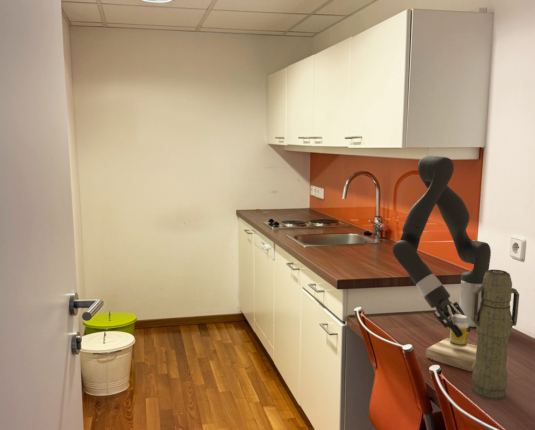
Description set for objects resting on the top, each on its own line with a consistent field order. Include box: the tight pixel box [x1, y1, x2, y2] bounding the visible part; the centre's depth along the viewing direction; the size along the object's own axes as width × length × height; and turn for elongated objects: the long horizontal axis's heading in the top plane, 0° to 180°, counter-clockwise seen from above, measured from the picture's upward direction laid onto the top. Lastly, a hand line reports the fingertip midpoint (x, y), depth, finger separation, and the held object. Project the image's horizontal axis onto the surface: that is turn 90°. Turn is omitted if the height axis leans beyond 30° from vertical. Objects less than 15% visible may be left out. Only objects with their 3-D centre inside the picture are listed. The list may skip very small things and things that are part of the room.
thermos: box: [471, 269, 520, 401], centre depth 145 cm, size 9×12×35 cm
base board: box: [425, 337, 477, 372], centre depth 172 cm, size 15×15×3 cm
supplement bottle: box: [449, 314, 469, 347], centre depth 171 cm, size 5×5×10 cm
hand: (464, 333), depth 170 cm, fingers closed on supplement bottle, 5 cm apart
